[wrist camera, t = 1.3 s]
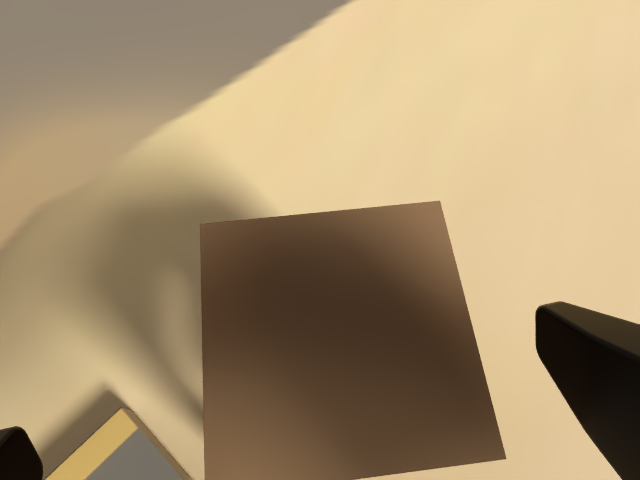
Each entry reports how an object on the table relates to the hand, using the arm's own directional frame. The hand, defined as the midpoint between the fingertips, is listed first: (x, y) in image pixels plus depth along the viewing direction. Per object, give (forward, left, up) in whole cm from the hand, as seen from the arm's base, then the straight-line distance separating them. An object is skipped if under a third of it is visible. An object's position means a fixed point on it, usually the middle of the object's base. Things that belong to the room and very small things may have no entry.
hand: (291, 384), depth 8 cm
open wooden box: (0, -2, -13) cm, 13 cm away
